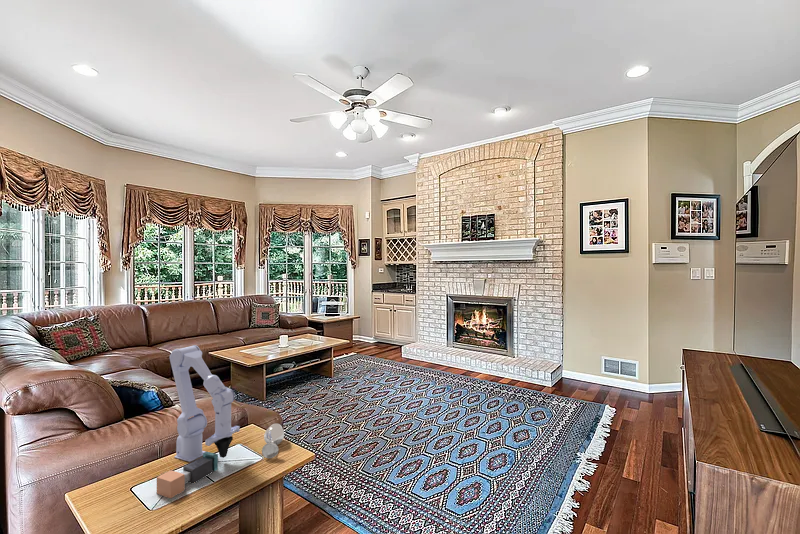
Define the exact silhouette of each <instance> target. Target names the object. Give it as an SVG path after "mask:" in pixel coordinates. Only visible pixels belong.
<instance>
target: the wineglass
mask: <svg viewBox="0 0 800 534" xmlns="http://www.w3.org/2000/svg"><path fill="white" fill-rule="evenodd" d="M284 438H285V432H284V428H283V426H282V425H281V424H280V423H273V424H271V425H270V426H269V427H268V428H267V429H266V430H265V432H264V434H263V440H264V442H265V443H266V444H264V445H263V446H262V448H261V454H262V456H263V457H264V458H266V459H273V458H275V457H276V456H277V455H278V454H279V446H278V445H279V444H281V443H282V442H283V440H284Z"/></svg>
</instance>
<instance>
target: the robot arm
mask: <svg viewBox="0 0 800 534" xmlns="http://www.w3.org/2000/svg"><path fill="white" fill-rule="evenodd" d="M169 362H170V366H171V370H172V374H173V378H174V382H175V383H174V384H175V388H176V391H177V396H178V400H179V405H180V410H181V414H179V416H178V418H177V419H176V422H177V428H176V430H177V434H178V436H177V438H176V446H175V448H176V453H175V454H176V455H174V457H173V458H175V459H178V460H182V461H185V462H188V463H192V462H194V461H195V460H197V459H199V458H201V457H203V453H205V452H206V451H205V450H203V432H204V431H205V428H206V427H207V425H208V419H207V416H206V415H205V413H204V410H203V409H201V408H199V407H198V406H197V402H196V398H195V394H194V389H193V385H192V381H191V377H190V372H189V370H190V368H191V367H192V368H193V370H195V372H196V373H197V374H198V375H199V376H200V377H201V379H202V380H203V384H202V385H203V386H204V388H205V389H206V391H207V392H208V394H209V395H210V396H211V398H212V399H211V404H212V406H213V411H214V414H215V415H214V416H215V417H214V423H215V424H214V431H215V432H214V434H212V435H211V436H210V437H208V438H207V439H205V441H204V443H205V444H204V445H205V446H208V447H209V446H211V445H213V444H214V445H215V446H216V449H217V451H218V456H219V458H226V457H227V454H228V451H229V448H230V446H231V443H232V441H233V439H234V437H233V434H235V433H239V432H240V431H241V428H240V427H241V426H240V425H234V426H232V403H233V402H234V401H235V399H236V398H235V397H236V396H235V392H234V390H233V389H232V388H229V387H228V386H225V384H224V383H223V382H222V380H221V379H220V377H219V376H218V375H216V374H212V373H211V370H210V369H209V367H208V366H207V364H206V362H205V361H204V359H203V351H202V350H201V348H200V347H199V346H198V345H196V344H193V345H191V346H186V347H181V348H175V349H173V350H172V351H171V353H170V354H169Z"/></svg>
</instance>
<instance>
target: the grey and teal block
mask: <svg viewBox="0 0 800 534" xmlns="http://www.w3.org/2000/svg"><path fill="white" fill-rule="evenodd" d="M202 457H206V458H210V459H212V472H216V471H218V470H219V453H214V452H211V451H205V453H203V456H202ZM180 473H182V474H185V484H186V483H189V482H188V481H190V480H192V471H189V470H185V471H182V472H180Z"/></svg>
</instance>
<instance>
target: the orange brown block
mask: <svg viewBox="0 0 800 534" xmlns="http://www.w3.org/2000/svg"><path fill="white" fill-rule="evenodd" d="M185 487H186V483H185V474H182V473H181V472H179V471H175V470H172V469H169V471H166V472H164V473H162V474H160V475H158V476H157V477H156V495H159V496H162V497H164V498H168V499H173V498H174V497H175V495H176V496H177V494H178V495H180V494H182V493H183V492H184V490H185ZM182 491H183V492H182ZM185 491H186V490H185Z"/></svg>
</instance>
